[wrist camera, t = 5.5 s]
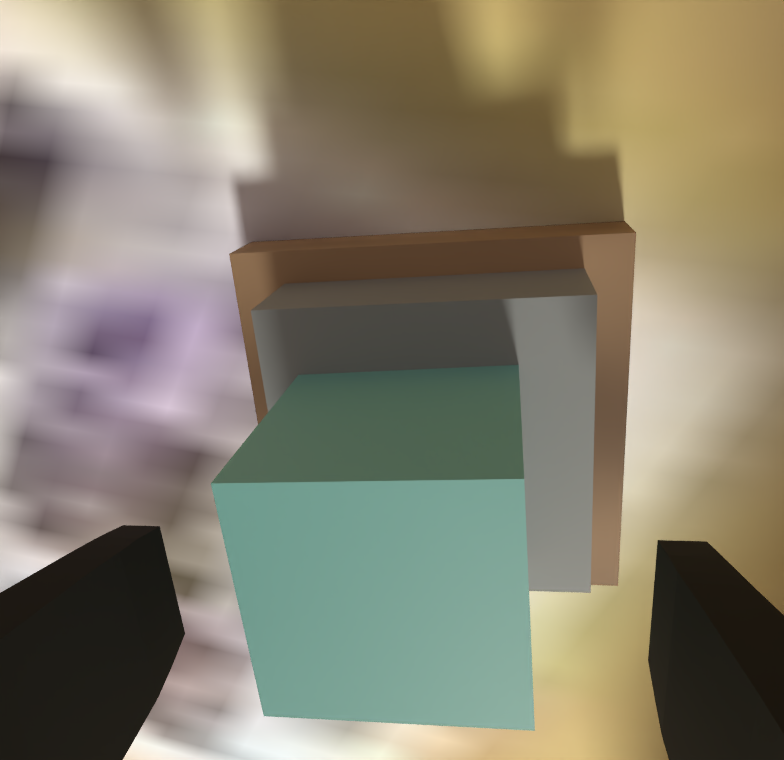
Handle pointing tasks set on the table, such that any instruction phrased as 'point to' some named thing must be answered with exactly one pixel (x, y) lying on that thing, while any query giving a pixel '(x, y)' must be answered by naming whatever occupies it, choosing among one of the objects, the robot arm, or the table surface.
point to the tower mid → (469, 349)
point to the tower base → (477, 256)
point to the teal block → (386, 549)
